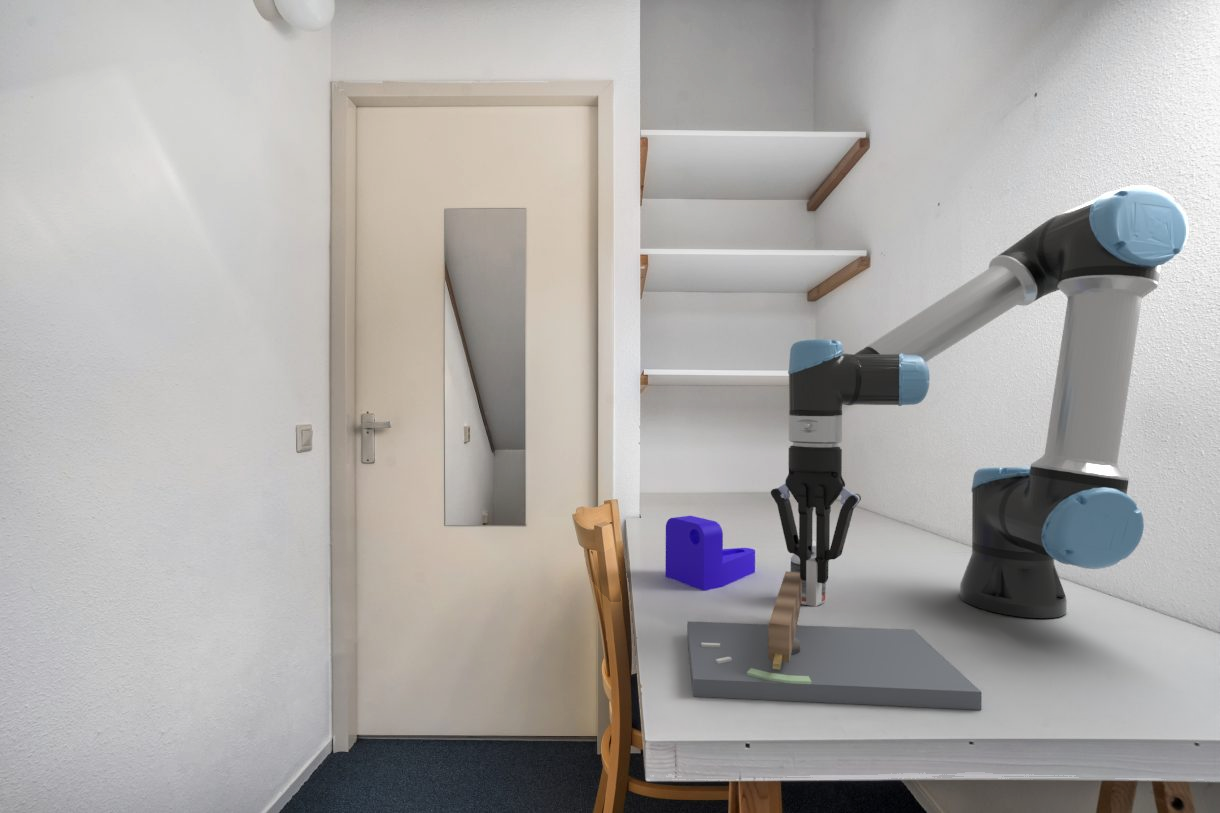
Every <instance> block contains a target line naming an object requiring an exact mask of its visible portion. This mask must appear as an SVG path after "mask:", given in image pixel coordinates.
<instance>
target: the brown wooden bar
mask: <svg viewBox="0 0 1220 813" xmlns="http://www.w3.org/2000/svg"><path fill="white" fill-rule="evenodd" d="M801 602H802V580H801V578H800V573H798V572H791V571H785V572H784V575H783V578H782V581H781V584H780V587H779V591H778V594H777V596H776V600H775V602H774V605H773V608H772V611H771V615H770V617H769V620H768V624H769V637H768V660H772V661H773V669H779V670H780V667H781V663H782V662H785V663H789V662H790V657H791V654H796V653H798V652H800V641H799V640H798V639H797V638H795V632H796V627H797V625H798V622H799V617H800V616H799V615H800V612H801V606H802V604H801Z"/></svg>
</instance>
